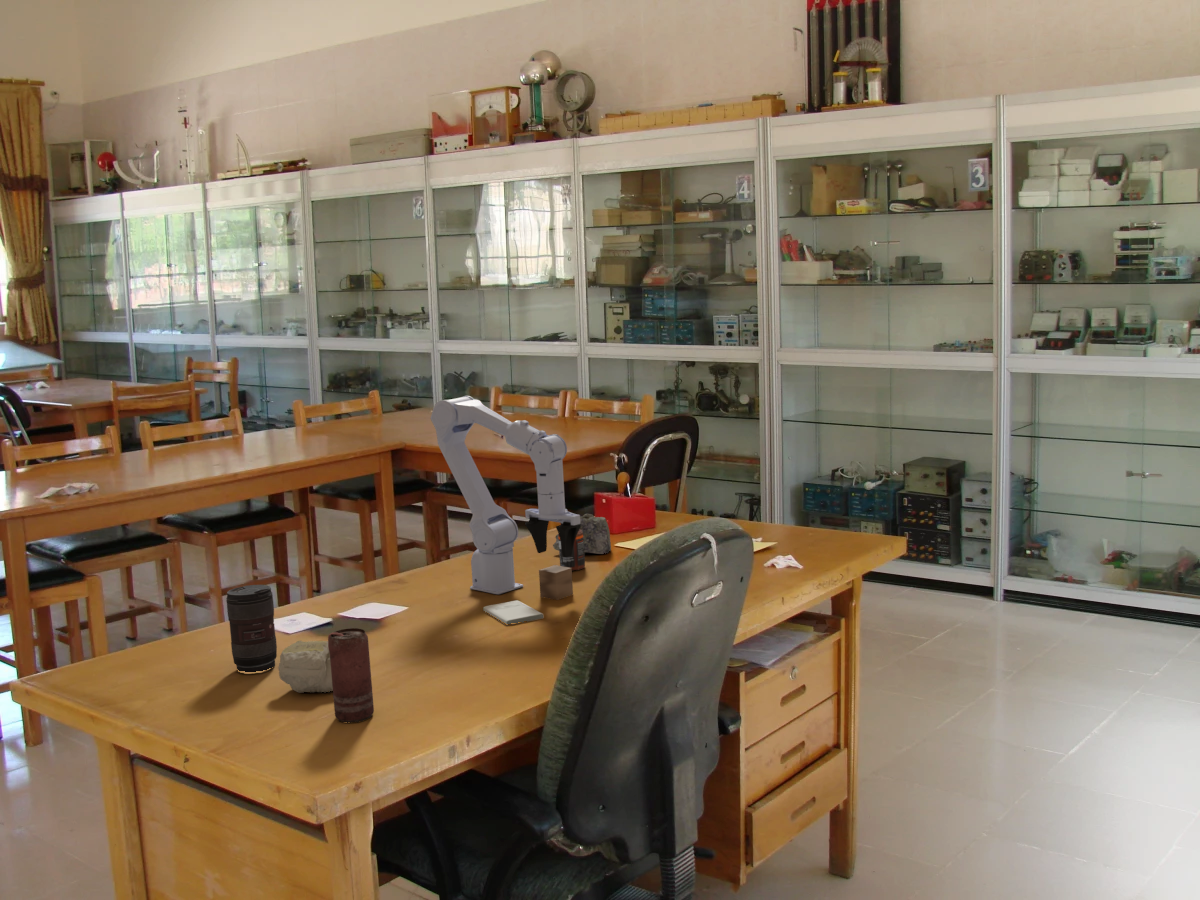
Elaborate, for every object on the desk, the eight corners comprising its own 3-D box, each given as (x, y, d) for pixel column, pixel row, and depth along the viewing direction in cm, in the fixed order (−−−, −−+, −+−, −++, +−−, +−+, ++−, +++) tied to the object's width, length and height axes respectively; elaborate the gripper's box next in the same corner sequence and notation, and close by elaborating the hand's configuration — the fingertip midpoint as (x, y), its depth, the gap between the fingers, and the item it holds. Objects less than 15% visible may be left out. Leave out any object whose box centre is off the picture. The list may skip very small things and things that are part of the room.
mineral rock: (551, 555, 286) (549, 515, 285) (576, 545, 295) (574, 507, 294) (593, 560, 279) (591, 519, 278) (618, 550, 288) (616, 511, 286)
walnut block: (540, 596, 249) (538, 570, 249) (556, 591, 253) (554, 564, 252) (557, 600, 246) (555, 573, 245) (573, 594, 250) (571, 568, 249)
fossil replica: (355, 694, 196) (347, 681, 205) (354, 646, 195) (346, 635, 205) (281, 701, 192) (277, 687, 201) (280, 651, 191) (276, 640, 201)
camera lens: (288, 662, 214) (280, 584, 211) (262, 677, 206) (254, 596, 204) (251, 659, 216) (243, 582, 214) (224, 674, 209) (216, 594, 207)
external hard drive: (506, 628, 230) (483, 613, 241) (544, 621, 234) (519, 606, 245) (506, 620, 230) (483, 606, 241) (543, 613, 233) (518, 599, 244)
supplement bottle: (586, 564, 275) (584, 518, 273) (583, 571, 269) (581, 524, 267) (561, 565, 275) (559, 519, 274) (558, 571, 270) (555, 524, 268)
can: (336, 711, 188) (329, 628, 186) (375, 708, 188) (369, 625, 186) (331, 725, 182) (323, 640, 180) (371, 722, 182) (364, 637, 180)
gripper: (588, 491, 244) (591, 554, 246) (539, 486, 254) (543, 546, 256) (565, 497, 239) (569, 561, 241) (516, 491, 249) (520, 553, 251)
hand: (554, 554), depth 248 cm, fingers open, 7 cm apart
